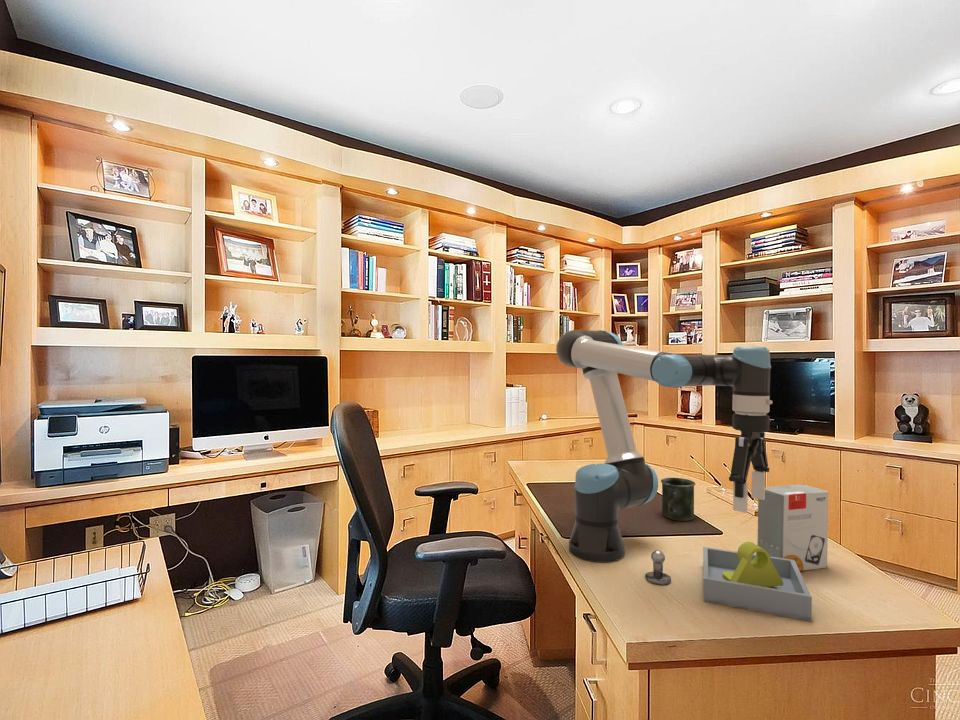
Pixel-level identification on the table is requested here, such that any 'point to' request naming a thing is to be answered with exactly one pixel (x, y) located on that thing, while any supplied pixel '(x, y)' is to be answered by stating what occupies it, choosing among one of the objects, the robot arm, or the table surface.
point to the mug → (678, 499)
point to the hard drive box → (795, 524)
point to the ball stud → (658, 570)
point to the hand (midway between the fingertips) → (749, 504)
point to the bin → (756, 587)
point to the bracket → (754, 568)
